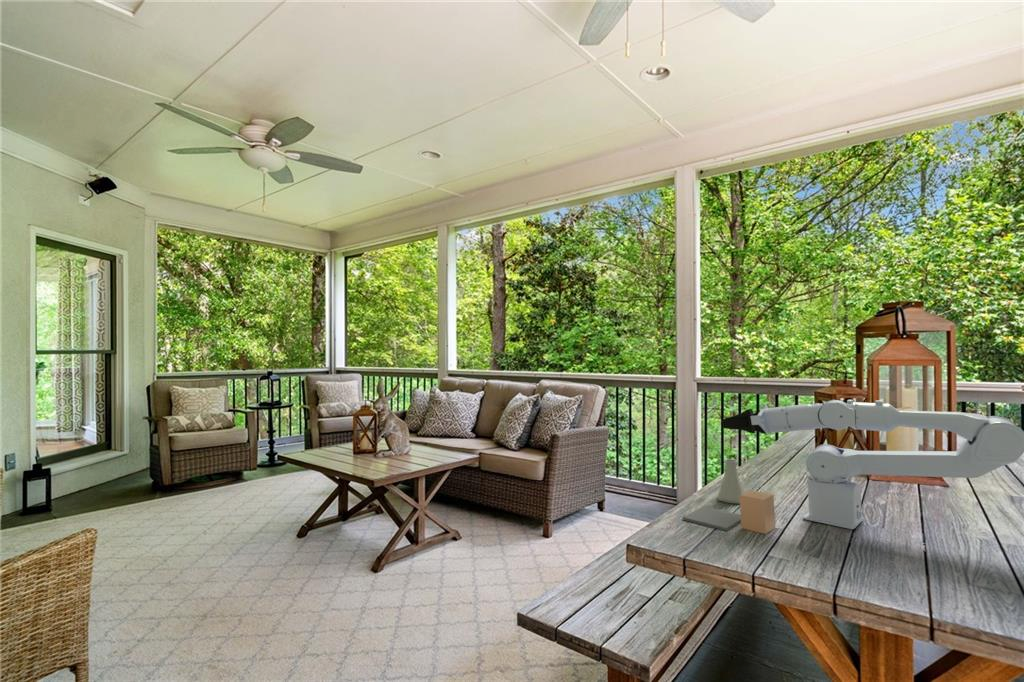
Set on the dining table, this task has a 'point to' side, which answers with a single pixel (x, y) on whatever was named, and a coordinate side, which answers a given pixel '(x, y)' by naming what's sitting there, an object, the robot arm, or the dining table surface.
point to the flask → (730, 483)
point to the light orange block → (757, 511)
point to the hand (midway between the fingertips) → (728, 424)
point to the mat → (714, 518)
